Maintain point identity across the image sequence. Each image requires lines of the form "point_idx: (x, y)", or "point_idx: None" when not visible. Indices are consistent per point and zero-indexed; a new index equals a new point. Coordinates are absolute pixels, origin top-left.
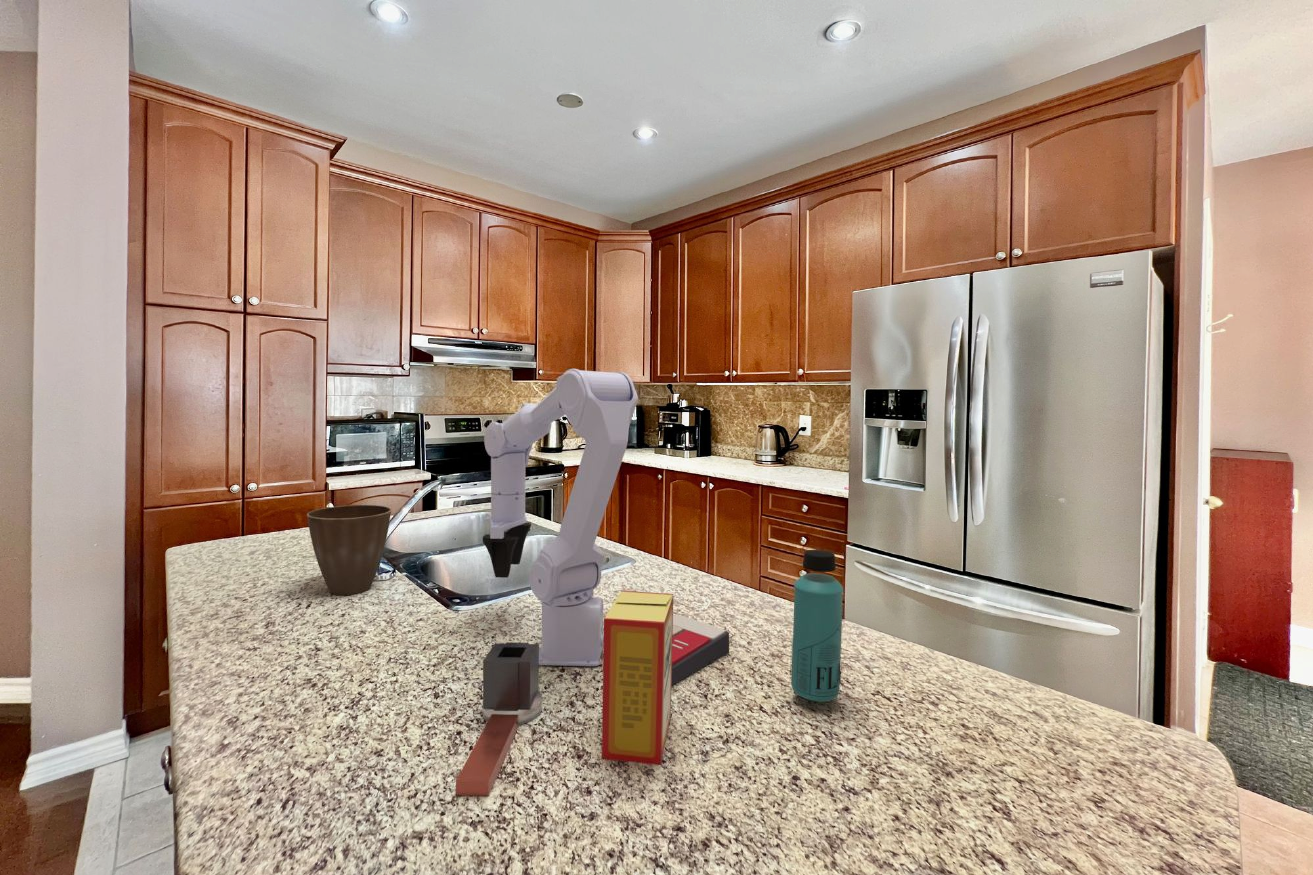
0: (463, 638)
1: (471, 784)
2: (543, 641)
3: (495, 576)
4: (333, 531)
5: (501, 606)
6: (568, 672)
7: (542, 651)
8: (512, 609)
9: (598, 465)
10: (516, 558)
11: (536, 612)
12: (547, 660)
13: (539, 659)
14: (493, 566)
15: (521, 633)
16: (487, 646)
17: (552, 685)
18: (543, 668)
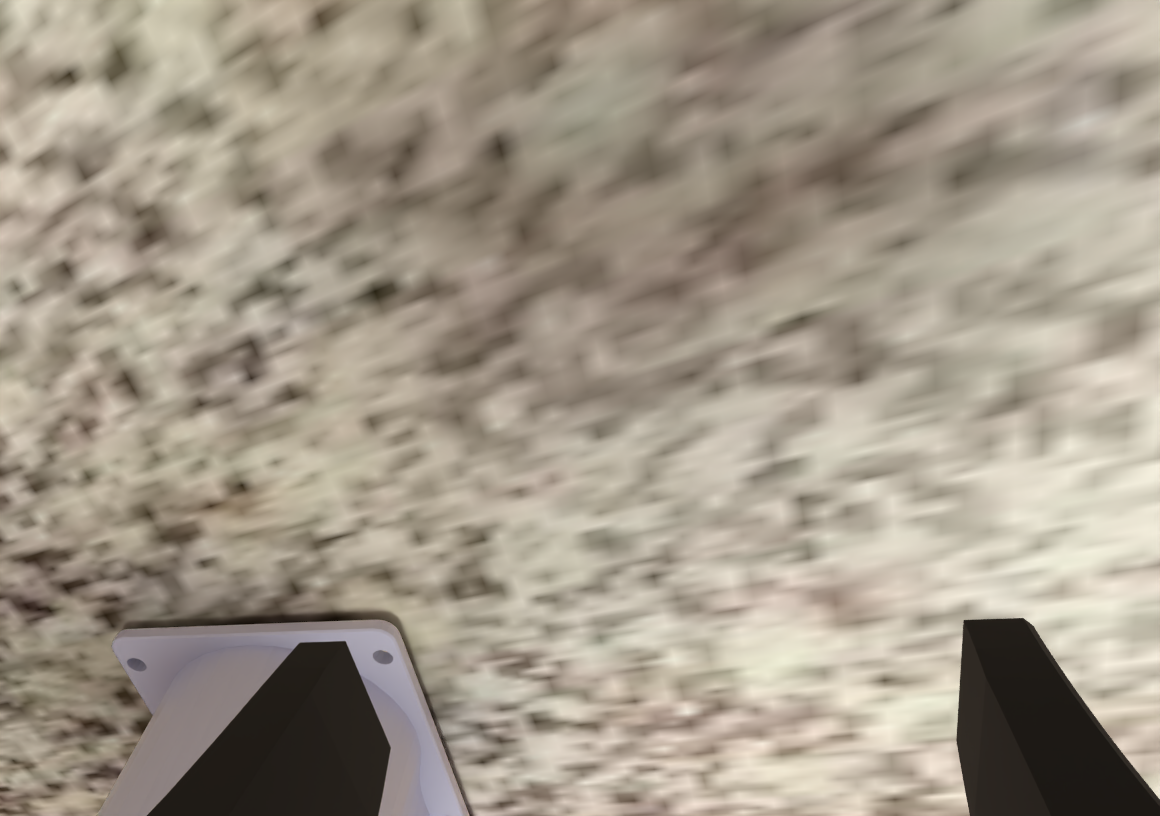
0: (265, 68)
1: None
2: (147, 736)
3: (294, 649)
4: None
5: (1149, 75)
6: None
7: (184, 677)
8: (1042, 224)
9: None
10: (975, 803)
11: (958, 443)
12: (155, 687)
13: (146, 655)
14: (202, 763)
15: (504, 456)
16: (218, 316)
17: (7, 716)
18: None
